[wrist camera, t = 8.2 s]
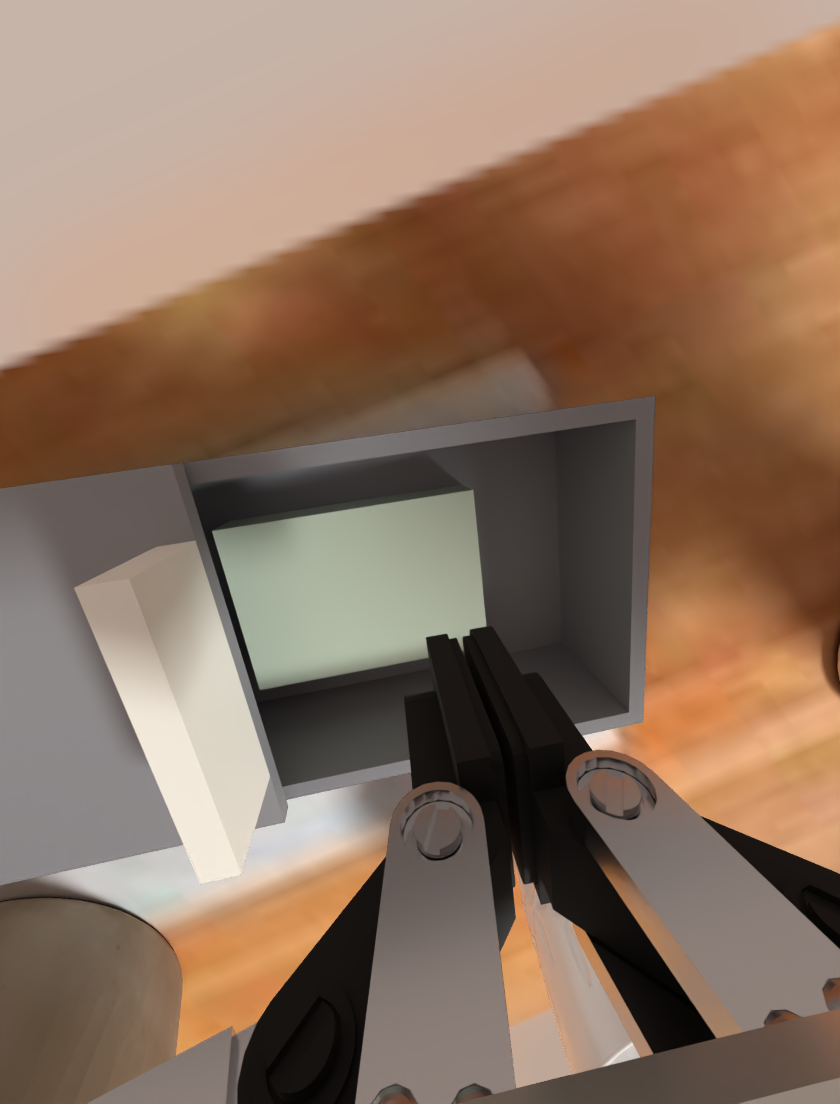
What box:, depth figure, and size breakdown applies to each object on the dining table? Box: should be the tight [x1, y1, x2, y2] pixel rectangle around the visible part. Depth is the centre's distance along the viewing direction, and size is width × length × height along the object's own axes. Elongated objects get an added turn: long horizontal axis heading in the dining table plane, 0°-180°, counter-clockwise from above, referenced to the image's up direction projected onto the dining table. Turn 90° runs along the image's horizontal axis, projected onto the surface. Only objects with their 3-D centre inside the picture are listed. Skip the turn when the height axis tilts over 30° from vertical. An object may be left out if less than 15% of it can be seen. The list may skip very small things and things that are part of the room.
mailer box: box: [183, 396, 655, 800], centre depth 15 cm, size 20×12×6 cm, turn 98°
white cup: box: [512, 852, 640, 1074], centre depth 20 cm, size 8×8×10 cm
